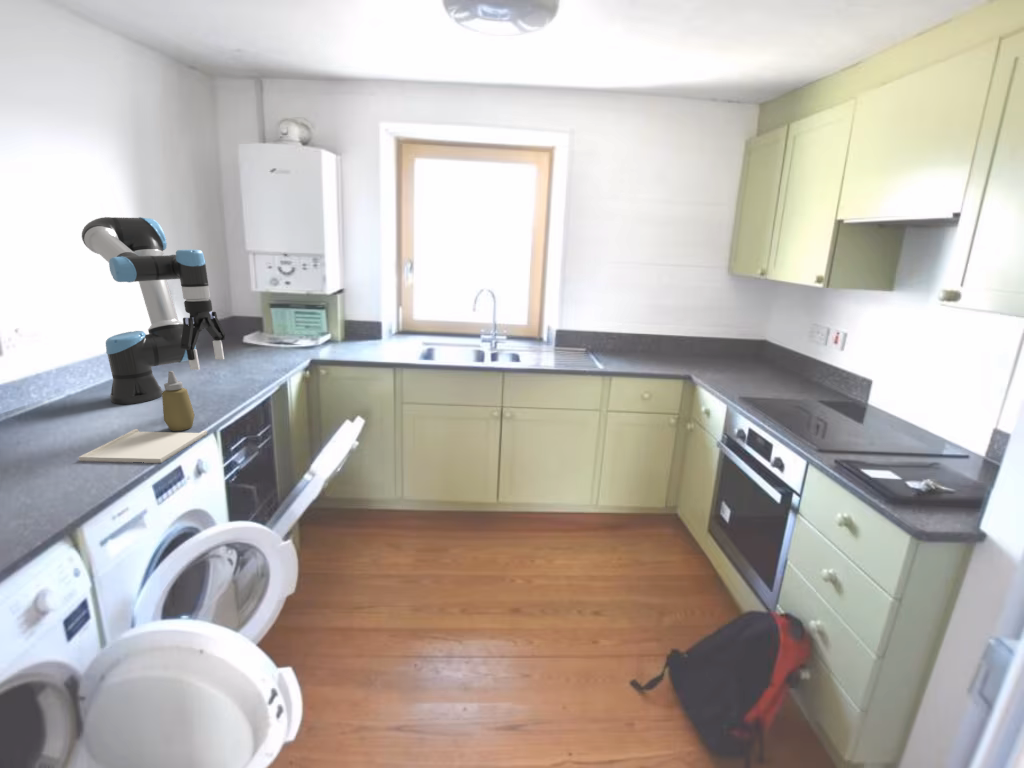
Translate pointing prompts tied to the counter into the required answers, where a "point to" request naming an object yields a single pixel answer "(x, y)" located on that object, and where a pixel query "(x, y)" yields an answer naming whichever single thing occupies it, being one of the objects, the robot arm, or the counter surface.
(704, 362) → the counter surface
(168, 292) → the robot arm
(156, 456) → the tray
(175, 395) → the squeeze bottle
